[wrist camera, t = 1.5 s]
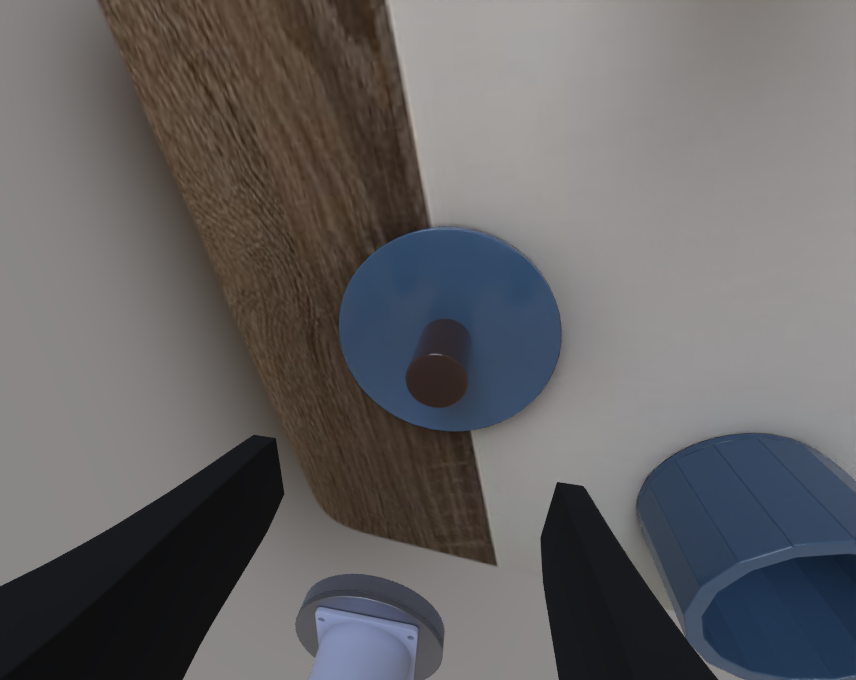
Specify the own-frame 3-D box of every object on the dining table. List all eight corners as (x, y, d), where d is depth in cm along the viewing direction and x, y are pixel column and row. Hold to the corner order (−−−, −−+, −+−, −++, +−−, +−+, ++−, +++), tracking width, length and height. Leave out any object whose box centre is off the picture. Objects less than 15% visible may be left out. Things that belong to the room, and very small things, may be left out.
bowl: (785, 575, 22) (879, 706, 17) (616, 546, 23) (654, 663, 18) (880, 448, 18) (1045, 570, 13) (669, 420, 19) (740, 522, 14)
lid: (534, 431, 20) (547, 501, 16) (348, 404, 21) (315, 464, 17) (581, 235, 16) (614, 262, 12) (342, 213, 17) (295, 231, 13)
